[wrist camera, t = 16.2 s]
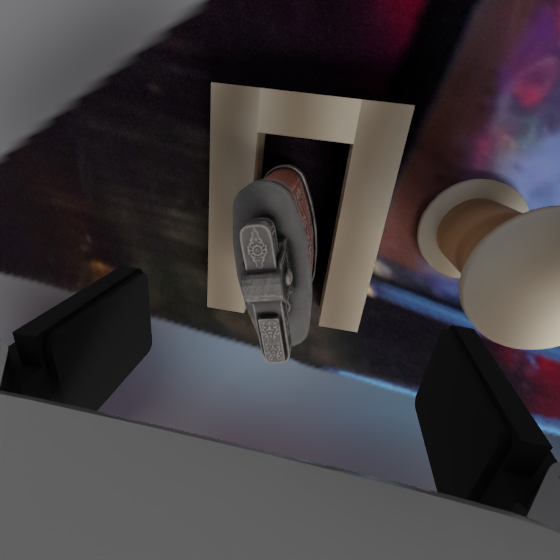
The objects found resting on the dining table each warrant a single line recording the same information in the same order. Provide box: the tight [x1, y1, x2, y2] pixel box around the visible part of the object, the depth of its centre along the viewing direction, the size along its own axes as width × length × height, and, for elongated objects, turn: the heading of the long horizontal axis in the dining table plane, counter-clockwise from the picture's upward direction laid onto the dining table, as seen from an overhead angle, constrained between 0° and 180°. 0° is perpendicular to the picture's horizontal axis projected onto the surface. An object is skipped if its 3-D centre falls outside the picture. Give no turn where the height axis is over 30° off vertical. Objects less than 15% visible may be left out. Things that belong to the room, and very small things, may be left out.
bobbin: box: [417, 178, 560, 350], centre depth 16 cm, size 6×6×8 cm
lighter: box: [233, 164, 317, 363], centre depth 17 cm, size 8×3×10 cm, turn 8°
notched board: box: [207, 82, 415, 332], centre depth 20 cm, size 10×13×2 cm
